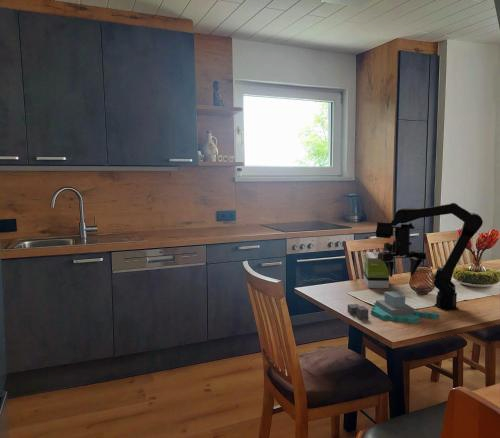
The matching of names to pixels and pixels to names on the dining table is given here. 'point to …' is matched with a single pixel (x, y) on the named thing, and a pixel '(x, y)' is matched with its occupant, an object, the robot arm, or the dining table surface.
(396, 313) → the sanding block
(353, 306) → the graphite chip
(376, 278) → the tea box
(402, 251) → the robot arm
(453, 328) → the dining table surface
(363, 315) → the graphite chip
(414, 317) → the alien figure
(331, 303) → the dining table surface
